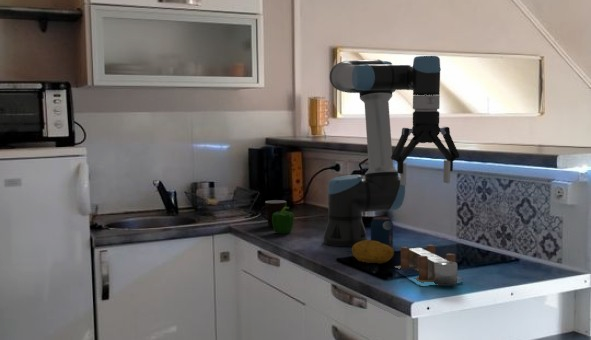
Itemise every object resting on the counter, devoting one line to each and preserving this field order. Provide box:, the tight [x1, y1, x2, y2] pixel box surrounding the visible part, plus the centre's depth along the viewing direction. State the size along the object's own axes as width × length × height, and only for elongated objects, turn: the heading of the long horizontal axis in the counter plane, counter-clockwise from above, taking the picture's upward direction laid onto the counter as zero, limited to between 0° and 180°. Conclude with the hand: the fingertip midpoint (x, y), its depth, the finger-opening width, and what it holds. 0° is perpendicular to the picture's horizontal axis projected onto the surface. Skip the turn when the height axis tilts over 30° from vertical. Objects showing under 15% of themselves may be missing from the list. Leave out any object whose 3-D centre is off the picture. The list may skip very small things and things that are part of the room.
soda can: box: [370, 215, 394, 250], centre depth 205 cm, size 7×7×12 cm
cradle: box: [394, 244, 463, 283], centre depth 177 cm, size 18×12×7 cm, turn 14°
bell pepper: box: [272, 206, 295, 235], centre depth 244 cm, size 8×8×10 cm
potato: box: [351, 239, 395, 264], centre depth 194 cm, size 8×14×7 cm, turn 43°
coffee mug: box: [260, 199, 287, 229], centre depth 259 cm, size 12×9×10 cm
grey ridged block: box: [409, 247, 458, 286], centre depth 175 cm, size 22×6×5 cm, turn 14°
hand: (425, 183), depth 187 cm, fingers open, 13 cm apart
